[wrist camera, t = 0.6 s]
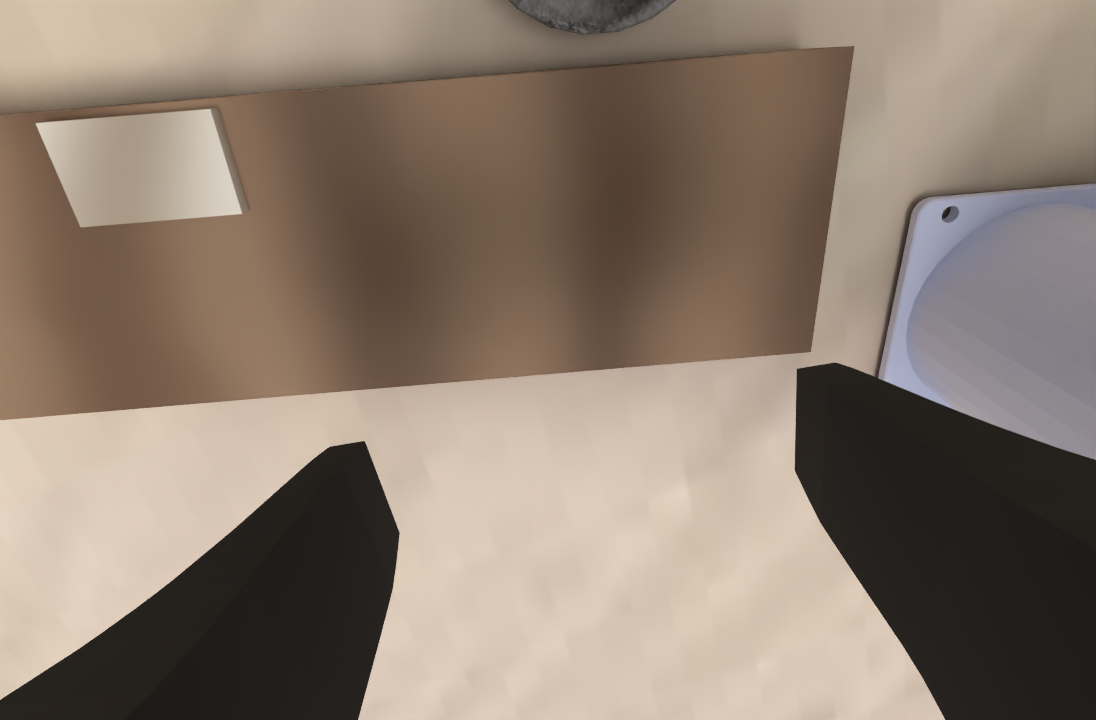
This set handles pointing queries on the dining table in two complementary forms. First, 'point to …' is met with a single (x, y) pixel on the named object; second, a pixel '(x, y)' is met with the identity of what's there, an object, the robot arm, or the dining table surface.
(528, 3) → the salt shaker
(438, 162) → the walnut fence board
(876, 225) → the dining table surface
